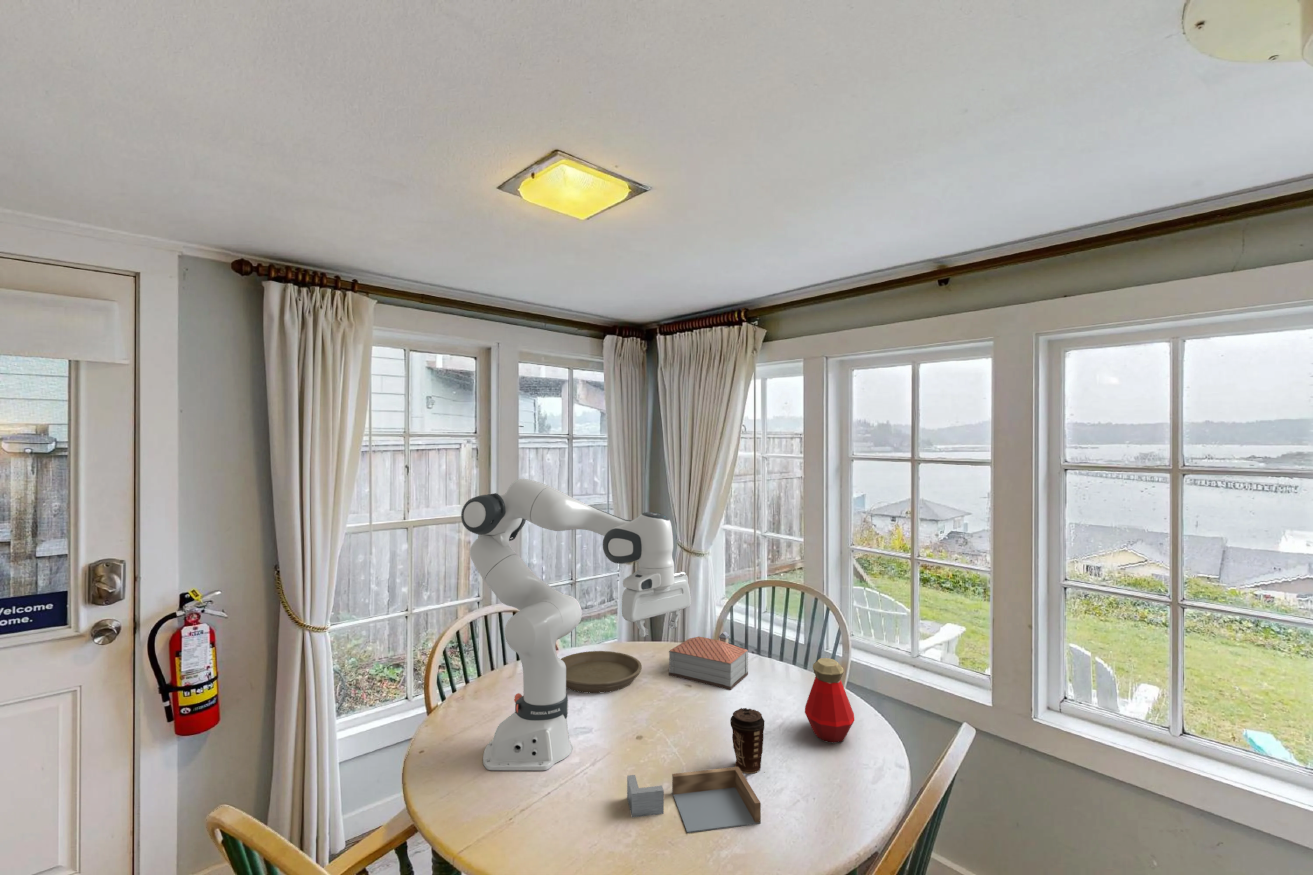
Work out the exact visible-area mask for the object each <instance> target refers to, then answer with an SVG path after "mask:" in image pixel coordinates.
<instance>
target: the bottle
mask: <svg viewBox="0 0 1313 875" xmlns="http://www.w3.org/2000/svg"><path fill="white" fill-rule="evenodd" d="M812 670H813V673H814V676H815V677H814V681H813V682H812V685H811V689H810V691H809V694H808V698H807V699H806V700H807V701H806V703H805V706H804V714H805V715H806V718H807V720H808V722H809V725H810V727H811V730H812V731H813V734H814V735H815V736H816V738H818V739H819V740H821V741H822V742H826V743H831V744H839V743H842V742H843V741H844V740H846V737H847V735H848V733H849V732H850V729H851V728H852V726H853V724H854V722H855V713H854V711H853V708H852V706H851V703H850V701H849V697H848V695H847V693H846V690H845V689H846V688H845V687H844V685H843V681H842V680H841V679H842V677H843V674H844V670H845V669H844V668H843V667H842V665H841V664H840V663H839V662H838V661H837V660H836V659H834V658H827V657H822V658H821V657H820V658H819V659H818V660H816V661H815V662H814V663H813V664H812Z"/></svg>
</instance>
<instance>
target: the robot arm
mask: <svg viewBox="0 0 1313 875" xmlns="http://www.w3.org/2000/svg"><path fill="white" fill-rule="evenodd" d="M506 490H507V491H506V492H505V493H504V494H501V495H500V494H499V493H497V492H496V493H488V494H487V493H486V494H482V495H477V496H474V497H472V498H470V499H468V500H467V501H466V502H465V504H463V506H462V509H461V515H460V518H461V522H462V525H463V527H465V529H466V530H467V531H469V532H471V533H472V534H475V535H478V537H477V539H475V540H474V541H473V542H472V544H471V546H470V548H469V557H470V559H471V562H472V563H473V565H474V567H475V569H476V570H477V572H478V573H479V576H481V578H482V579H483V581H484V582H485V583H486V585H487V586H488V587H489V588H490V590H491V591H492V592H493V594H494V595H495V597H497V599H498V601H500V602H501V603H502V605H505V606H508V607H512V608H514V609H517V610H519V611H517V612H516V613H515V614H513V615H512V616H511V617H510V618H509V619H508V621H507V622H506V624H505V627H504V637H505V641H506V644H507V645H508V647H510V649H511V650H512V651H513V652H515V653H516V654H517V655H518V657H519V660H520V663H521V667H522V674H523V675H522V676H523V678H522V681H523V682H522V683H523V686H522V687H523V689H522V690H523V691H522V692H523V693H520V692H518V693H516V694H515V695H514V698H513V701H514V703H515V704H514V705H515V707H514V708H515V709H514V712H513V713H512V714H510V715H508V717H507V718H506V719H504V720H503V721H502V722H500V723H499V724H498V726H497V728H496V730H495V732H494V735H493V737H492V740H490V742H489V743H487V745H486V746H485V748H484V752H483V754H482V755H483V756H482V764H483V767H484V768H485V769H486V770H488V771H547V770H549V769H550V768H552V766H554V765H555V764H556V763H558V762H561V761H562V760H564V759H566V758H567V757H568V756H570V754H571V752H572V750H573V745H572V743H571V740H570V735H569V729H568V728H569V727H568V719H567V718H568V714H569V698H568V693H567V688H566V665H565V663H564V662H563V661H562V660H561V658H560V657H559V656H558V652H557V649H556V644H557V641H558V640H559V639H560V640H561V639H562V638H564V637H567V635H569V634H570V633H572V632H573V630H575V629H576V627H577V626H578V625H579V624H580V622H581V620H582V617H583V611H582V607H581V604H580V603H579V601H578V599H576V597H574V596H572V595H569V594H566V593H565V594H564V593H562V592H560V591H559V590H558V589H557V590H556V589H555V588H553V587H552V586H550V584H548V583H546V582H545V581H543V579H541V578H540V577H539V576H538V575H536V573H534V572H533V570H531V568H530V567H529V566H528V565H527V563H525V561H524V560H523V559H522V558H521V556H520V555H519V554H518V553H517V552H516V550H515V549H513V547H512V545H511V543H510V542H511V541H514V540H515V539H516V538H517V536H518V534H519V532H520V531H521V530H522V529H523V528H524V526H525V524H526V522H529V523H531V524H534V525H535V526H538V527H539V528H542V529H546V530H548V531H554V532H563V531H571V530H585V531H591V532H593V533H596V534H598V535H601V536H603V540H602V550H603V553H604V555H605V557H606V559H608V561H610V562H612V563H614V564H617V565H618V564H619V565H624V564H628V563H632V562H638V567H639V569H637V570H636V571H635V572H633V573H632V574H630V575H628V576H627V577H624V579H623V580H622V586H623V588H625V589H624V590H623V592H622V595H621V616H622V618H623V619H624V620H625V621H628V622H631V623H635V625H636V627H637V628H638V630H639V631H638V632H639V636H640V637H642V638H645V637H648V636H649V628H647V627H645V626H644V624H645V621H646V619H649V618H654V617H658V616H661V615H662V616H663V615H665V614H668V613H671V618H670V620H668V628H669V629H672V630H673V629H677V628H678V620H679V618H680V616H681V610H684V609H688V608H690V606H691V604H692V597H691V588H690V585H689V576H688V575H687V573H686V572H684V571H679V572H675V562H674V559H673V551H674V536H673V535H674V534H673V527H672V522H671V520H670V518H669V517H668V516H667V515H665V514H664V513H659V512H654V511H653V512H652V511H650V512H649V511H646V512H642V513H640V514H639V516H637V517H636V518H634V519H631V520H630V519H626V518H625V519H624V518H621V517H619V516H616V515H614V514H612V513H608V511H607V512H606V511H604V510H601V509H600V508H597V507H593V506H592V505H589V504H586V503H584V502H583V501H581V500H579V499H576V498H574V497H573V496H571V495H568V494H566V493H564V492H563V491H560V489H559V490H558V489H556V488H554V487H552V486H550V485H549V484H545V483H542V482H540V481H536V480H532V479H527V478H519V479H516V480H515V481H514V482H511V484H510V485H509V487H508V488H507V489H506ZM522 694H523V695H522Z"/></svg>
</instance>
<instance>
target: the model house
mask: <svg viewBox="0 0 1313 875" xmlns="http://www.w3.org/2000/svg"><path fill="white" fill-rule="evenodd" d="M718 638H719V639H713V638H709V637H703V636H694V637H691V638H688V639H686V640H685V641H683V642H682V643H680V644H678V645H676V646H675V647H673V648H672V649H669V651H668V653H669V658H668V659H669V665H668V666H669V667H668V669H669V670H668V676H670V677H673V678H678V679H682V680H686V681H691V682H695V683H698V684H702V685H703V684H704V685H707V686H711V687H715V688H718V689H719V688H720V689H724V690H728V691H731V690H733V689H734V688H735V687H736V686H737V685H739V684H740V682H742V680H744V679H745V678H746V677H747V676H748V675H749V659H748V658H749V649H746V648H744V647H739V646H737V645H734V644H731V643H729V640H730V639H729V638H730V635H729V633H728V632H727V631H723V632H722V633H721V634H719V636H718Z"/></svg>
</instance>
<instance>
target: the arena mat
mask: <svg viewBox="0 0 1313 875" xmlns="http://www.w3.org/2000/svg"><path fill="white" fill-rule="evenodd" d="M671 794H672V796H673V798H674V801H675V804H676V807H677V809H678V812H679V814H680V817H681V819H682V823H683V825H684V827H685V828H684V829H685V830H686V833H687V834H690V833H691V834H692V833H699V832H706V831H713V830H714V831H715V830H722V829H729V828H736V827H737V828H739V827H745V826H751V825H752V826H753V825H760V824H761V822H757V823H755V821H754V820H753V818H752V816H751V814H750V813H749V811H748V809H747V807H746V805H745V804H744V802H743V800H742V798H741V797H740V795H739V793H738V791H737V790H736V788H735V787H734V788H725V789H717V790H708V791H700V792H691V793H683V794H674V795H673V792H672V791H671Z"/></svg>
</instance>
